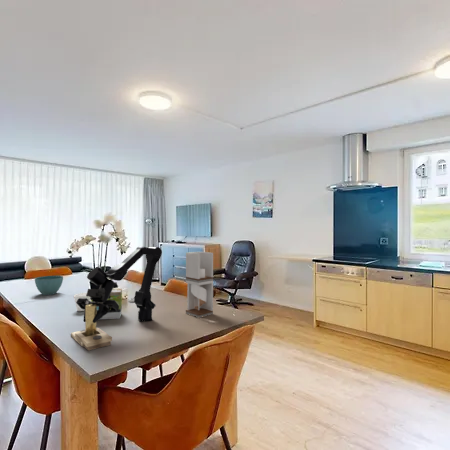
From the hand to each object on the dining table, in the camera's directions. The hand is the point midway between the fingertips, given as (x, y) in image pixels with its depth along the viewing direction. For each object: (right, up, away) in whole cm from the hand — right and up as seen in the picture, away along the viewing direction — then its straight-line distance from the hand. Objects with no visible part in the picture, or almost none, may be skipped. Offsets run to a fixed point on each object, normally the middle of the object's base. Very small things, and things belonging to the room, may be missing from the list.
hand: (88, 322), depth 129 cm
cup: (-26, -9, +49) cm, 56 cm away
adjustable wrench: (+4, -10, +65) cm, 66 cm away
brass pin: (0, -7, +1) cm, 7 cm away
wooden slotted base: (0, -8, +1) cm, 8 cm away
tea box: (-6, -9, +35) cm, 37 cm away
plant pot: (-72, -9, +93) cm, 118 cm away
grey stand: (+44, -9, +42) cm, 61 cm away
